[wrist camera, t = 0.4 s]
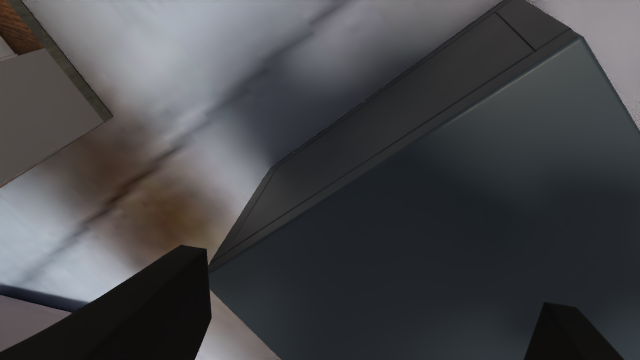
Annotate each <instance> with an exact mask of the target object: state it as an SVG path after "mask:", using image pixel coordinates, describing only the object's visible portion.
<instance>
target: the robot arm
mask: <svg viewBox="0 0 640 360" xmlns="http://www.w3.org/2000/svg"><path fill="white" fill-rule="evenodd" d="M211 318H212V316H211V303H210V289H209V276H208V262H207V249H204V248H197V247H191V246H185V245H180V246H178V247H177V248H175V249H173V250H172V251H170V252H169V253H167V254H166V255H164V256H162V257H161V258H159V259H158V260H156V261H155V262H153V263H152V264H150V265H149V266H147V267H146V268H144V269H143V270H141V271H140V272H138V273H137V274H135V275H134V276H132V277H130V278H129V279H127V280H126V281H124V282H123V283H121V284H119V285H118V286H116V287H115V288H113V289H112V290H110V291H109V292H107V293H105V294H104V295H102V296H101V297H99V298H97V299H96V300H94V301H92V302H91V303H89V304H87V305H85V306H84V307H82V308H80V309H79V310H77V311H75V312H74V313H72V314H70V315H68V316H67V317H65V318H63V319H62V320H60V321H58V322H56V323H55V324H53V325H51V326H49V327H48V328H46V329H44V330H42V331H40V332H38V333H37V334H35V335H33V336H31V337H29V338H27V339H25V340H23V341H21V342H19V343H17V344H15V345H13V346H11V347H9V348H7V349H5V350H3V351H1V352H0V360H195V358H196V355H197V353H198V351H199V348H200V346H201V344H202V341H203V339H204V336H205V334H206V331H207V328H208V326H209V323H210V321H211ZM524 360H624V359H623V358H622V356H621V355H620V354H619V353H618V352H617V351H616V350H615V349H614V348H613V346H612V345H611V344H610V343H609V342H608V341H607V340H606V339H605V338H604V337H603V335H602V334H601V333H600V332H599V331H598V330H597V329H596V328H595V327H594V325H593V324H592V323H591V322H590V321H589V320H588V319H587V318H586V317H585V316H584V315H583V314H582V313H581V311H580V310H579V309H578V308H577V307H573V306H567V305H561V304H554V303H548V302H544V304H543V307H542V309H541V312H540V315H539V318H538V321H537V323H536V326H535V329H534V332H533V335H532V337H531V340H530V343H529V346H528V349H527V351H526V354H525V357H524Z"/></svg>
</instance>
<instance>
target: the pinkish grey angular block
mask: <svg viewBox="0 0 640 360" xmlns="http://www.w3.org/2000/svg"><path fill="white" fill-rule="evenodd" d="M70 314H72V313H71V312H67V311H63V310H59V309H55V308H50V307H46V306H42V305H38V304H34V303H30V302H26V301H22V300H18V299H14V298H10V297H6V296H2V295H0V352H1V351H3V350H5V349H7V348H9V347H11V346H13V345H15V344H17V343H19V342H21V341H23V340H25V339H27V338H29V337H31V336H33V335H35V334H37V333H38V332H40V331H42V330H44V329H46V328H48V327H49V326H51V325H53V324H55V323H56V322H58V321H60V320H62V319H63V318H65V317H67V316H68V315H70Z"/></svg>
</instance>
